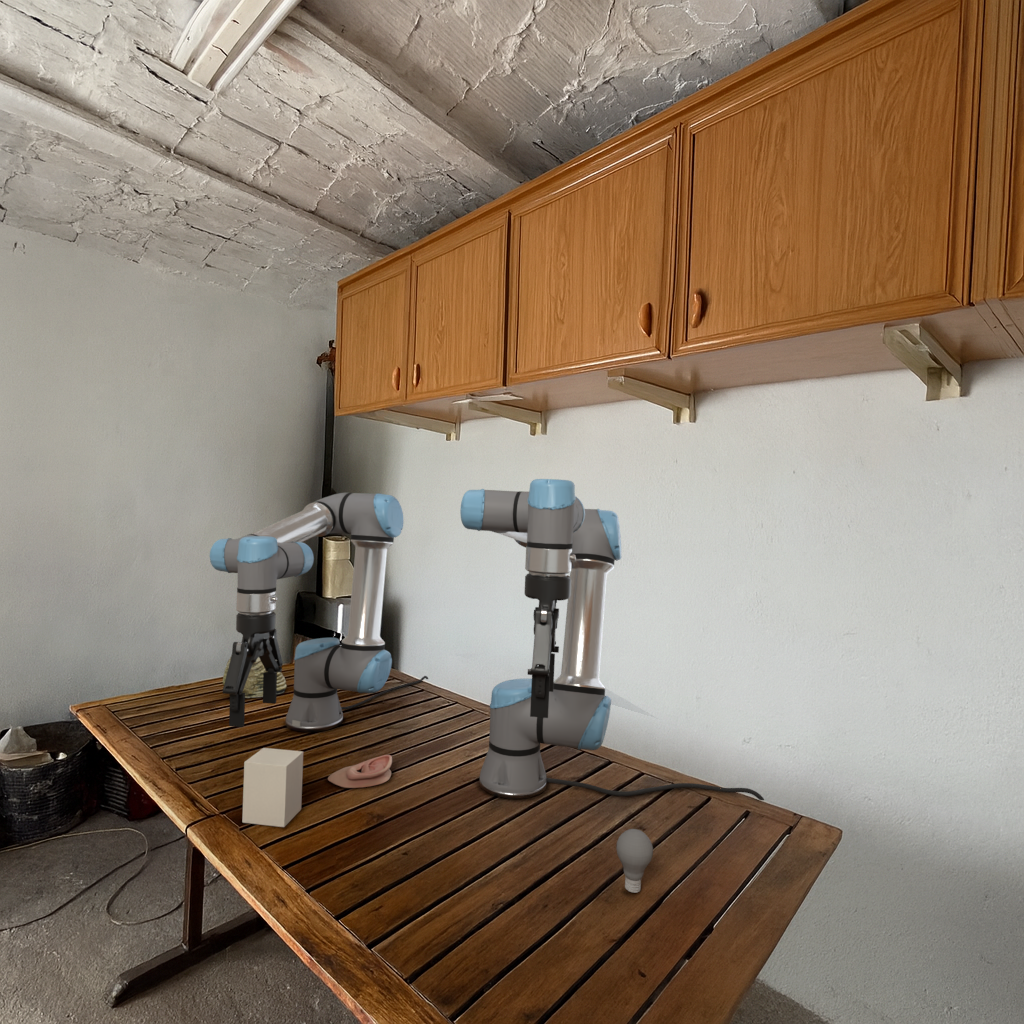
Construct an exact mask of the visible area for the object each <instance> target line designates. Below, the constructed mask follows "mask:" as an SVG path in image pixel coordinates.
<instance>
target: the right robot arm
mask: <svg viewBox="0 0 1024 1024" xmlns="http://www.w3.org/2000/svg"><path fill="white" fill-rule="evenodd" d="M460 520H461V523H462V525H463V527H464V528H465V529H467V530H473V531H477V532H481V531H483V532H484V531H485V532H492V533H495V534H499V535H502V536H504V537H508V538H510V539H513V540H514V541H515V542H516V543H517V544H518V545H519V546H521V547H523V548H525V562H524V563H525V565H524V570H525V571H527V572H528V573H526V574H525V576H524V595H525V597H526V598H529V599H531V600H538V606H535V608H534V609H533V615H532V616H533V636H534V637H533V639H534V640H533V650H532V661H531V662H532V663H531V668H527V675H528V676H531V678H525V677H524V678H514V679H508V680H505V681H502V682H500V683H498V684H496V685H495V686H494V687H493V688H492V691H491V698H490V703H489V708H490V712H489V733H488V734H489V735H488V738H489V739H488V750H487V753H486V755H485V758H484V761H483V763H482V767H481V769H480V772H479V779H478V780H479V782H478V783H479V786H480V788H481V789H482V790H483V792H486V793H487V794H490V795H492V796H495V797H498V798H503V799H508V800H509V799H511V800H524V799H530V798H534V797H536V796H539V795H540V794H541V795H542V793H544V792H545V790H546V789H547V783H549V784H556V785H564V786H570V787H577V788H583V789H588V790H592V791H595V792H597V793H601V794H604V795H610V796H616V797H634V796H638V795H639V796H640V795H644V794H648V793H654V792H655V793H657V792H661V791H667V790H671V789H672V790H673V789H681V788H682V789H684V788H685V789H690V788H691V789H700V790H701V789H702V790H708V791H712V792H713V791H714V792H722V793H744V794H750V795H752V796H753V797H756V799H758V800H759V801H765V799H764V797H763V796H762V795H761V794H760V793H759V792H758V791H756V790H754V789H751V788H749V787H748V788H747V787H723V786H715V785H708V784H702V783H693V782H691V783H690V782H679V783H670V784H669V783H668V784H663V785H659V786H651V787H646V788H641V789H636V790H627V791H620V790H612V789H607V788H605V787H600V786H596V785H593V784H589V783H584V782H579V781H573V780H567V779H559V778H552V777H547V773H546V769H545V765H544V762H543V758H542V754H541V744H543V745H550V746H557V747H565V748H571V749H577V750H578V751H581V750H585V751H586V750H587V751H596V750H599V749H600V748H601V747H602V745H603V742H604V740H605V737H606V733H607V728H608V724H609V718H610V714H611V706H612V698H611V697H610V696H608V695H606V687H605V685H604V684H603V683H602V681H601V679H600V672H601V659H602V647H603V645H602V643H603V634H604V633H603V632H604V617H605V607H606V605H605V604H606V592H607V580H608V579H607V578H608V574H609V573H610V572H611V571H613V570H614V569H615V562H616V561H621V560H622V538H621V526H620V519H619V516H618V514H617V513H616V512H615V511H613V510H609V509H608V510H606V509H600V508H585V506H584V504H583V502H582V501H581V499H579V498H578V497H577V496H576V485H575V483H574V481H572V480H570V479H569V480H568V479H559V478H558V479H554V478H553V479H552V478H535V479H532V480H531V481H530V484H529V490H528V491H515V490H495V489H485V488H481V489H469V490H467V491H466V492H464V494H463V496H462V498H461V502H460ZM568 574H569V575H568ZM566 600H567V604H566V614H565V625H564V636H563V649H562V660H561V671H560V675H559V676H558V677H557V678H556V679H555V662H556V661H555V660H556V654H558V653H559V652H560V646H558V645H557V640H556V630H557V629H558V623H559V618H560V608H557V603H558V602H559V601H566ZM720 788H721V789H720Z"/></svg>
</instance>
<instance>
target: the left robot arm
mask: <svg viewBox="0 0 1024 1024" xmlns="http://www.w3.org/2000/svg"><path fill="white" fill-rule="evenodd" d="M403 529H404V512H403V508H402V506H401V504H400V501H399V500H398V499H397V498H396V497H395V496H393V495H391V494H386V493H371V492H370V493H367V492H366V493H365V492H339V493H334V494H331V495H328V496H325V497H322V498H320V499H317V500H315V501H312V502H309V503H308V504H307V505H305V506H304V507H303V509H302V510H301V511H299V512H297V513H294V514H292V515H289V516H287V517H285V518H283V519H280V520H278V521H276V522H273V523H271V524H269V525H266V526H264V527H262V528H259V529H257V530H255V531H253V532H250V533H248V534H246V535H243V536H241V537H238V538H230V537H228V538H220V539H217V540H216V541H214V542H213V544H212V545H211V548H210V551H209V560H210V561H209V562H210V565H211V566H212V567H213V569H214V570H216V571H219V572H225V573H228V574H237V587H236V611H237V612H238V613H237V614H236V617H235V618H236V620H235V621H236V622H235V630H236V632H238V633H239V634H241V635H242V638H241V641H234V642H232V647H231V648H232V650H231V655H232V656H230V657H231V660H230V664H229V668H228V672H227V676H226V679H225V683H224V685H223V688H222V694H223V695H229V709H228V711H229V712H228V715H229V717H228V726H229V727H235V728H243V727H245V717H246V716H245V711H246V710H245V709H246V708H245V707H246V698H245V693H242V692H243V689H244V686H245V684H246V681H247V678H248V675H249V673H250V670H251V667H252V665H253V663H255V662H256V660H257V658H258V657H259V658H260V660H261V662H262V664H263V666H264V668H265V670H266V671H268V672H265V673H263V697H262V703H263V704H271V705H272V704H274V705H275V704H277V695H278V694H277V673H276V672H281V673H282V672H283V659H282V654H281V651H280V650H281V649H280V646H279V643H278V642H279V641H278V633H277V628H276V620H277V619H276V617H277V613H276V612H275V610H276V607H277V601H278V597H277V580H281V579H282V580H283V579H287V578H293V577H294V578H295V577H299V576H301V575H304V574H306V573H308V572H309V571H310V570H311V569H312V567H313V565H314V560H315V558H314V552H313V550H312V548H311V547H310V546H309V545H308V544H306V543H305V542H307V541H308V540H311V539H313V538H314V537H319V538H320V537H325V536H327V535H329V534H330V535H331V534H342V535H343V534H344V535H350V542H351V543H352V544H353V546H354V547H355V548H354V549H355V551H354V561H353V574H352V583H351V596H350V608H349V617H348V618H349V619H348V630H347V631H348V632H347V635H346V636H344V638H343V639H341V641H340V639H339V638H337V637H320V638H319V637H318V638H313V639H307V640H304V641H302V642H299V643H298V644H297V645H296V647H295V652H294V653H295V654H294V659H293V660H294V672H293V695H292V696H293V697H292V699H291V702H290V704H289V708H288V711H287V713H286V715H285V726H286V728H287V729H289V730H291V731H294V732H295V731H296V732H301V733H316V732H325V731H329V730H332V729H335V728H337V727H339V726H340V725H342V723H343V722H344V714H343V711H344V710H350V709H354V708H356V707H358V706H361V705H363V704H365V703H368V702H370V701H372V700H374V699H375V698H377V697H380V696H383V695H384V694H387V693H390V692H392V691H395V690H398V689H402V688H404V687H408V686H412V685H416V684H419V683H422V681H424V680H429V677H428V676H427V675H424V676H422V677H421V678H420V679H418V680H415V681H412V682H408V683H404V684H401V685H398V686H397V685H396V686H394V687H390V688H388V689H385V690H383V691H380V690H382V689H383V687H384V686H385V685H386V683H387V682H388V679H389V677H390V673H391V669H392V665H393V658H392V654H391V652H390V651H388V650H387V649H385V647H386V641H384V639H382V637H381V630H382V629H381V628H382V617H383V605H384V593H385V583H386V581H385V580H386V570H387V556H388V549H390V547H392V546H393V545H394V543H395V541H394V540H395V538H397V537H399V536H400V535H401V534H402V531H403ZM340 642H341V643H340ZM338 690H341V691H347V692H348V691H349V692H354V693H359V694H374V695H372V696H370V697H368V698H366V699H364V700H362V701H359V702H356V703H355V704H352V705H348V706H341V702H340V699H339V695H338ZM379 691H380V692H379Z"/></svg>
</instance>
